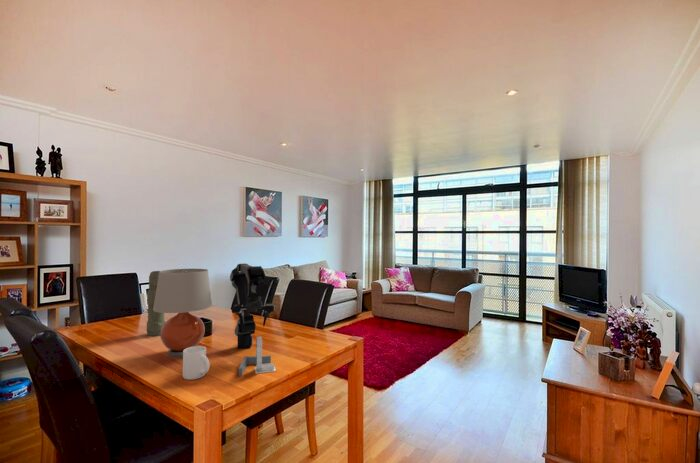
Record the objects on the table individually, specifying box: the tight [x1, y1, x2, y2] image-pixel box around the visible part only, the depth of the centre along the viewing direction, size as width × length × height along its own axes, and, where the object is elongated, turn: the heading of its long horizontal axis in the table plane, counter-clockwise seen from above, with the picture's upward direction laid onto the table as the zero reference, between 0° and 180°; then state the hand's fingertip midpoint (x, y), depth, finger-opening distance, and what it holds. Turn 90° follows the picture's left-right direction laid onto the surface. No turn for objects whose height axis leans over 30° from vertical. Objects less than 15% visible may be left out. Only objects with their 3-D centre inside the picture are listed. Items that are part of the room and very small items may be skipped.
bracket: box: [255, 336, 275, 372], centre depth 136 cm, size 7×4×13 cm, turn 111°
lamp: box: [153, 268, 213, 359], centre depth 155 cm, size 25×25×39 cm
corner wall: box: [238, 354, 272, 377], centre depth 137 cm, size 11×13×3 cm
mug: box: [182, 345, 210, 381], centre depth 129 cm, size 12×8×10 cm
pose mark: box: [254, 365, 277, 375], centre depth 136 cm, size 8×6×1 cm
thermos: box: [146, 270, 166, 338], centre depth 183 cm, size 9×12×35 cm
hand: (253, 326), depth 153 cm, fingers open, 9 cm apart
